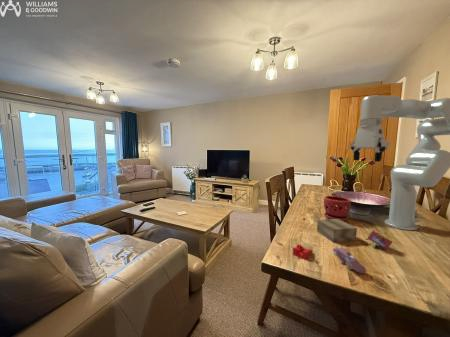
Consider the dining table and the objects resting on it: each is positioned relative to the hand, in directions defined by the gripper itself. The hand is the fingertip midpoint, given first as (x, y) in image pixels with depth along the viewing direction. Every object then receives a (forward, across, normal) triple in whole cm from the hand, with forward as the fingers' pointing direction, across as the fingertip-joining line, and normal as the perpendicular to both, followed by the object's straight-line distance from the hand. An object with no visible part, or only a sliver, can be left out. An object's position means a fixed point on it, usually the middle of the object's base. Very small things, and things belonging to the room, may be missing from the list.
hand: (366, 160), depth 89 cm
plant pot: (+34, +16, -4) cm, 38 cm away
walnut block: (+35, 0, +16) cm, 38 cm away
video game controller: (+35, -18, +32) cm, 51 cm away
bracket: (+36, -8, +41) cm, 55 cm away
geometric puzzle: (+35, -14, +8) cm, 38 cm away
